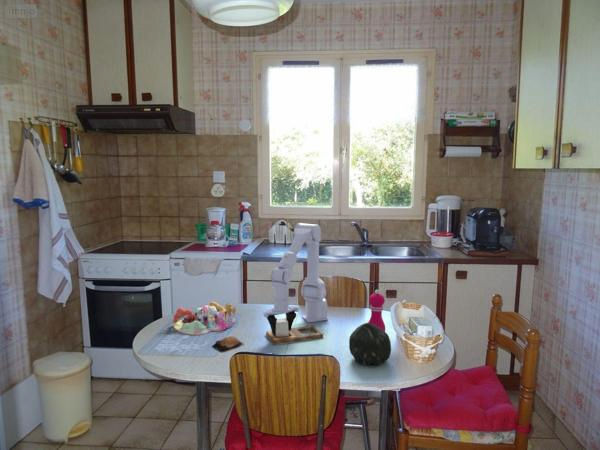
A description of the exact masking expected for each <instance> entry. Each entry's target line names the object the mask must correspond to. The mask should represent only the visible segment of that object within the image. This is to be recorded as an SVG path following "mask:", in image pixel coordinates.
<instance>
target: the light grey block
mask: <svg viewBox="0 0 600 450" xmlns="http://www.w3.org/2000/svg"><path fill="white" fill-rule="evenodd" d="M288 336H289V330H288V321H287V319H286V317H285V318H277V321H276V334H275V337H276V338H282V337H288Z"/></svg>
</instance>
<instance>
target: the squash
mask: <svg viewBox="0 0 600 450" xmlns="http://www.w3.org/2000/svg"><path fill="white" fill-rule="evenodd" d="M348 343H349V345H348V347H349V352H350V354H351V356H353V359H354V361H355V362H356V363H357V364H363V365H364V366H370V364H372V365H374V366H379V365H380V364H383V363H386V362H387V361H388V360H389V358H390V357H391V353H392V345H391V343H392V342H391V339H390V336H389V334H388V333H387V332H386V330H385V331H383V330H382V329H381V328H380V327H378V326H376V325H374V324H371V323H368V322H365V323H363V324H360V325H358V326H357V327H356V328H355V329H354V330H353V332H352V333H351V334H350V336H349V339H348Z"/></svg>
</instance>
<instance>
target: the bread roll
mask: <svg viewBox="0 0 600 450" xmlns="http://www.w3.org/2000/svg"><path fill="white" fill-rule="evenodd" d="M243 345H244V346H245V343H244V342H242V341H240V340H239V339H238V338H237V337H235V336H233V335H232V336H231V335H229V336H226V337H224V338H221V339H220V340H216V342H215V343H214V344H213V345H212V346H211V348H213V349H215V350H216V351H218V352H221V353H225V352H228V351H231V350H235V349H237V348H240V347H241V346H243Z"/></svg>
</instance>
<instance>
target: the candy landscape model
mask: <svg viewBox="0 0 600 450" xmlns="http://www.w3.org/2000/svg"><path fill="white" fill-rule="evenodd" d="M236 311H237V307H236V306H235V307H232V303H230V302H227V303H225V307H224V306H222V305H220V304H219V303H218V302H215V301H210V302H209V303H208V305H207V304H205V305H204V306H202V307H197V308H196V309H195V311H194V313H193V312H192V310H191V309H185V308H183V307H179V308H177V309H176V310H175V314H174V315H173V320H172V323H173V329H174V330H175V331H177V332H179V333H182V334H186V335H193V336H195V335H196V336H197V335H198V336H199V335H201V336H202V335H205V334H208V333H210V332H219V331H220V332H221V331H225V330H226V329H229V328H231V327H233V326H235V325H234V323H235V322H236V320H237V319H235V318H234V316H235V315H236V314H235V313H236ZM181 318H182V319H181Z"/></svg>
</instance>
